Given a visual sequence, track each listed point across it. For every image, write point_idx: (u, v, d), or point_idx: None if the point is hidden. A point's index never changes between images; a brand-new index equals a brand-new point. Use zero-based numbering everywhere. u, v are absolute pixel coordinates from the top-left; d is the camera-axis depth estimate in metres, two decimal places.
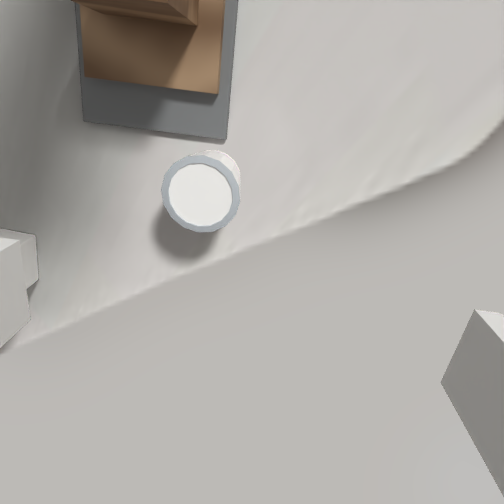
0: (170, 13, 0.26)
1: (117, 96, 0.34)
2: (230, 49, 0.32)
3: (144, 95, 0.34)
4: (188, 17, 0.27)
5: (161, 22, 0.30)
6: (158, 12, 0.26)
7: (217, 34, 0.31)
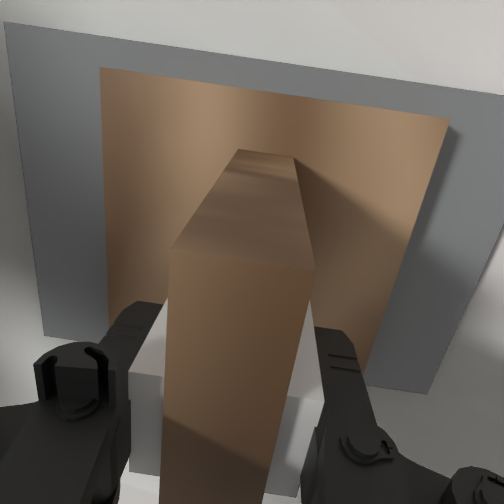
0: None
1: (395, 332, 0.17)
2: (341, 78, 0.13)
3: (404, 284, 0.16)
4: (293, 177, 0.10)
5: None
6: None
7: (314, 108, 0.12)
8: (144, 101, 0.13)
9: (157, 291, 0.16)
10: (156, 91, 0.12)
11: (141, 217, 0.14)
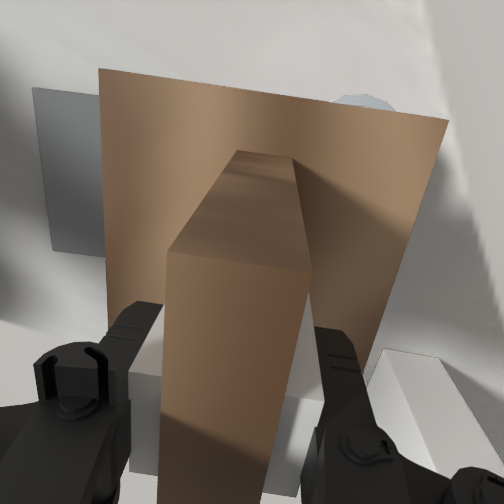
0: None
1: None
2: None
3: None
4: (292, 178, 0.10)
5: None
6: None
7: (312, 109, 0.12)
8: (143, 102, 0.13)
9: (156, 292, 0.16)
10: (155, 92, 0.13)
11: (140, 218, 0.14)
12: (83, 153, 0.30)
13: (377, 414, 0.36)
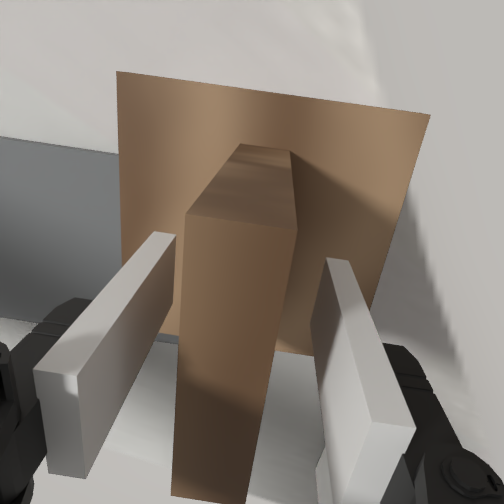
0: None
1: None
2: (79, 153, 0.23)
3: None
4: (288, 166, 0.11)
5: None
6: None
7: (307, 106, 0.14)
8: (156, 101, 0.14)
9: None
10: (166, 92, 0.14)
11: (153, 206, 0.16)
12: None
13: None
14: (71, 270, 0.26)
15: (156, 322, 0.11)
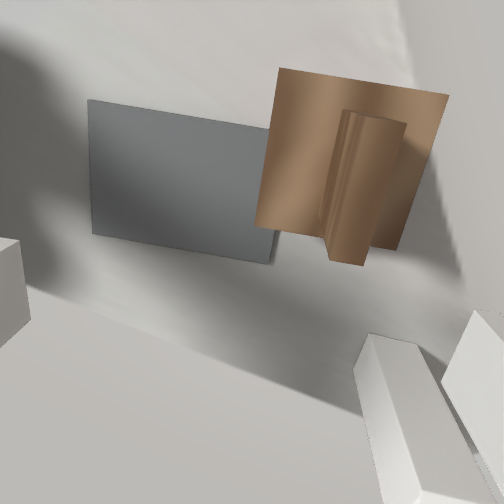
0: None
1: (249, 231, 0.39)
2: (212, 123, 0.35)
3: (249, 208, 0.38)
4: (379, 116, 0.23)
5: None
6: None
7: (382, 88, 0.25)
8: (298, 84, 0.26)
9: (287, 190, 0.29)
10: (305, 79, 0.26)
11: (286, 146, 0.28)
12: (124, 154, 0.37)
13: (360, 388, 0.42)
14: (194, 206, 0.38)
15: None
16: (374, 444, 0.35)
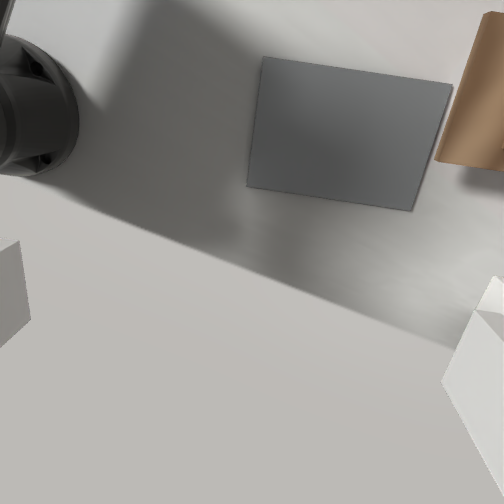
0: None
1: (397, 179, 0.42)
2: (378, 75, 0.38)
3: (400, 156, 0.41)
4: None
5: None
6: None
7: None
8: None
9: (476, 126, 0.32)
10: None
11: (483, 85, 0.31)
12: (290, 108, 0.40)
13: None
14: (348, 156, 0.42)
15: None
16: None
